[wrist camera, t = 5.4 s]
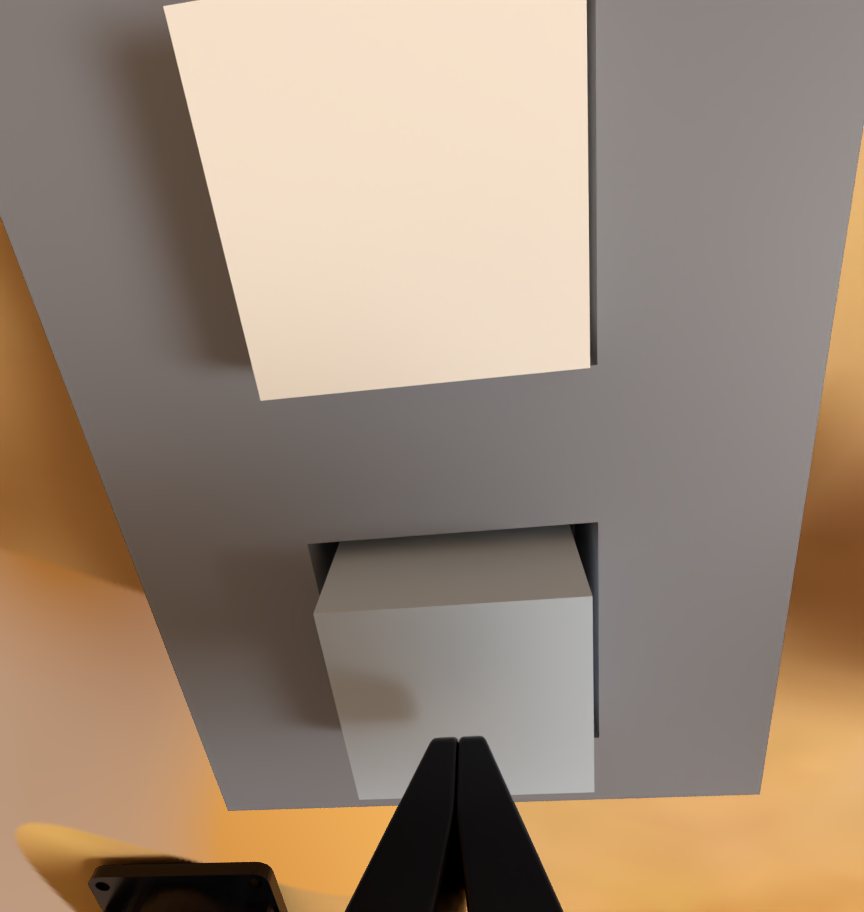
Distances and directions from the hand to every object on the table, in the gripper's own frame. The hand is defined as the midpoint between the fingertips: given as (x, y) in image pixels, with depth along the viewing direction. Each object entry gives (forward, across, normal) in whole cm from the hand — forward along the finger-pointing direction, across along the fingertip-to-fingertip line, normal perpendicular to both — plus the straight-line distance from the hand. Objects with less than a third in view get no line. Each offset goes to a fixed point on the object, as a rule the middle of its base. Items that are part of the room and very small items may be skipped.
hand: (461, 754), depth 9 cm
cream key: (+3, 0, -8) cm, 9 cm away
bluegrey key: (+3, 0, 0) cm, 3 cm away
